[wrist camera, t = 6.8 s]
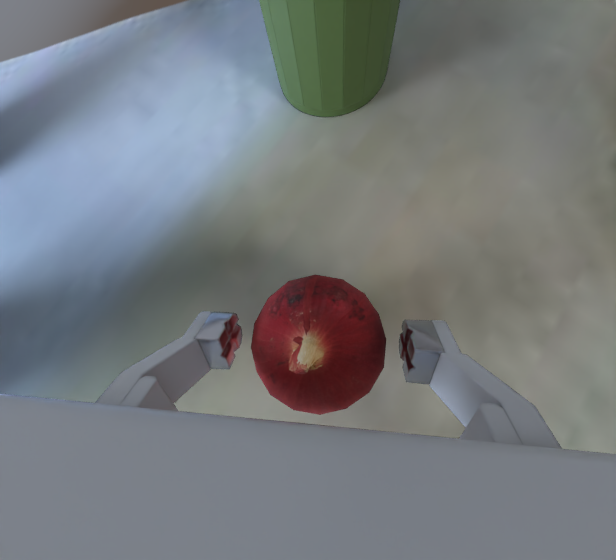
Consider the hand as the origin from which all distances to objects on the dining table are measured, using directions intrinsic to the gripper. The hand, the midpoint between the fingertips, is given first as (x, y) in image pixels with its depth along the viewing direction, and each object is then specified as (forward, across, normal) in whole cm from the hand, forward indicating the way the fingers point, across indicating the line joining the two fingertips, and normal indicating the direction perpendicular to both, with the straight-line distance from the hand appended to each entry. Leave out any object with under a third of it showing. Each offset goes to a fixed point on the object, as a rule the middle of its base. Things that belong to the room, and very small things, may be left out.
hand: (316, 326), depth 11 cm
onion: (+3, 0, +4) cm, 5 cm away
